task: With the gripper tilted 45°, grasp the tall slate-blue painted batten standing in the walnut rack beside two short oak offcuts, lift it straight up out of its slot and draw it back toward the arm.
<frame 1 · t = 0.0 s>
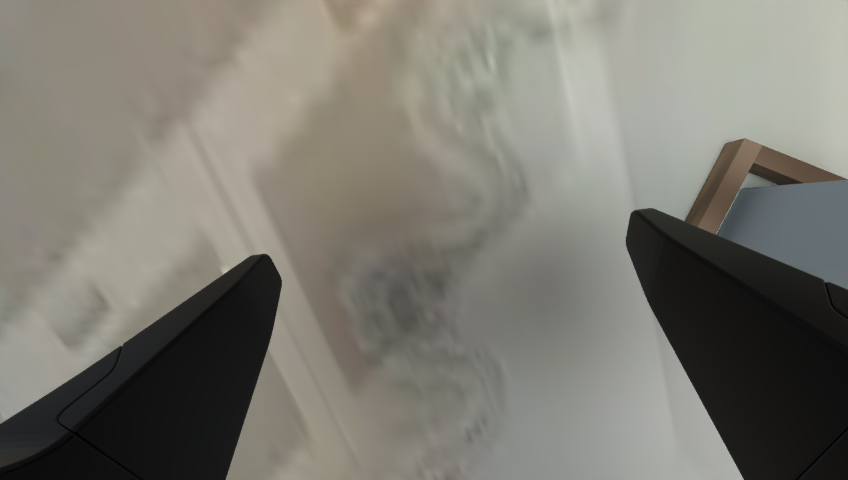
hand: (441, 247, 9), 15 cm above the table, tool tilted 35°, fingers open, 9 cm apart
rack: (754, 231, 22), on the table
batten: (753, 231, 22), resting in rack
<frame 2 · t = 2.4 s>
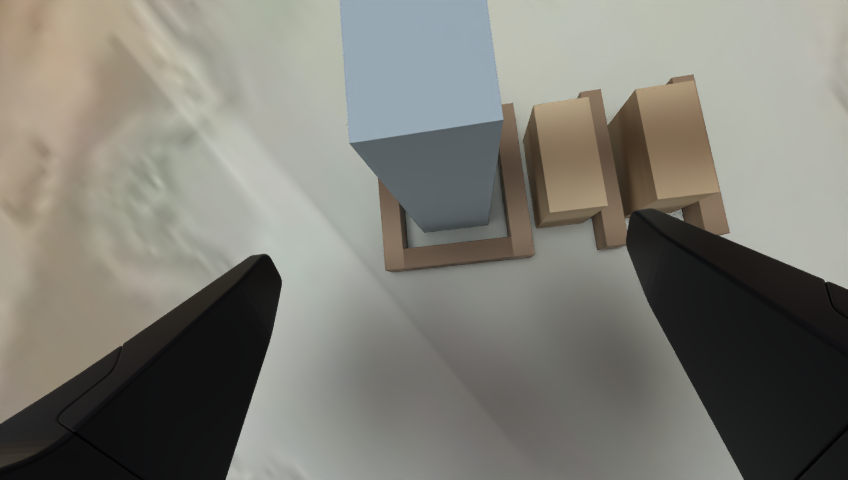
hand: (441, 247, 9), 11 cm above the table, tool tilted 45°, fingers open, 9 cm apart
oak offcut 2: (637, 169, 20), on the table
rack: (451, 193, 21), on the table
batten: (451, 193, 21), resting in rack
oak offcut 1: (551, 180, 20), on the table
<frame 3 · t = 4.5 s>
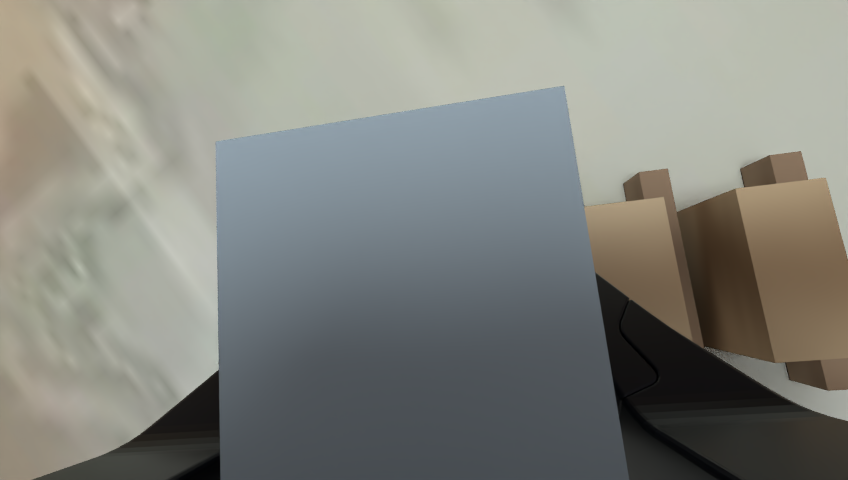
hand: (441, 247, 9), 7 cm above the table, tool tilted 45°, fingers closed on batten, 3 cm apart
oak offcut 2: (713, 274, 15), on the table
rack: (459, 299, 16), on the table
batten: (459, 298, 16), resting in rack, touching gripper
oak offcut 1: (595, 286, 15), on the table
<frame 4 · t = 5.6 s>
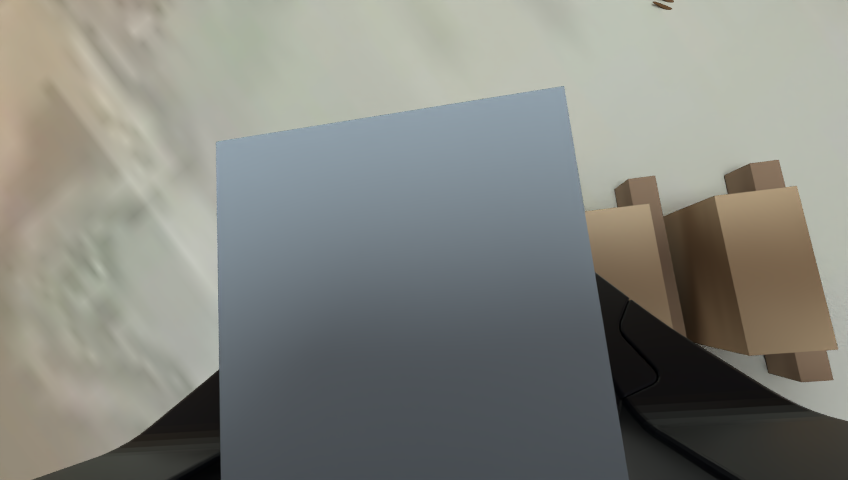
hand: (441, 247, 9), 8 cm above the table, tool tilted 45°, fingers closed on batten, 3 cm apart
oak offcut 2: (698, 274, 16), on the table
rack: (460, 297, 17), on the table
batten: (459, 298, 16), point 1 cm above the table, touching gripper
oak offcut 1: (587, 285, 16), on the table
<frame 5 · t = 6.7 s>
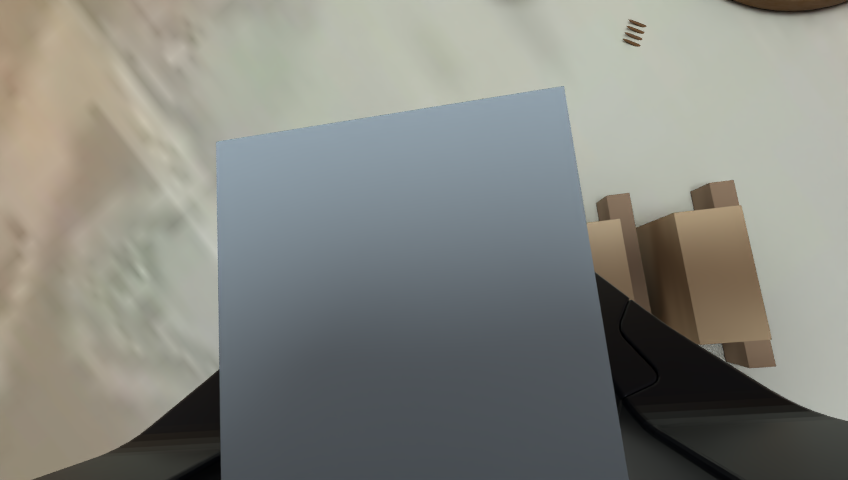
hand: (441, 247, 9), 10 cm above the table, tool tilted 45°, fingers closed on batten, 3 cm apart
oak offcut 2: (667, 277, 18), on the table
rack: (462, 297, 19), on the table
batten: (459, 298, 16), point 4 cm above the table, touching gripper
oak offcut 1: (573, 286, 19), on the table
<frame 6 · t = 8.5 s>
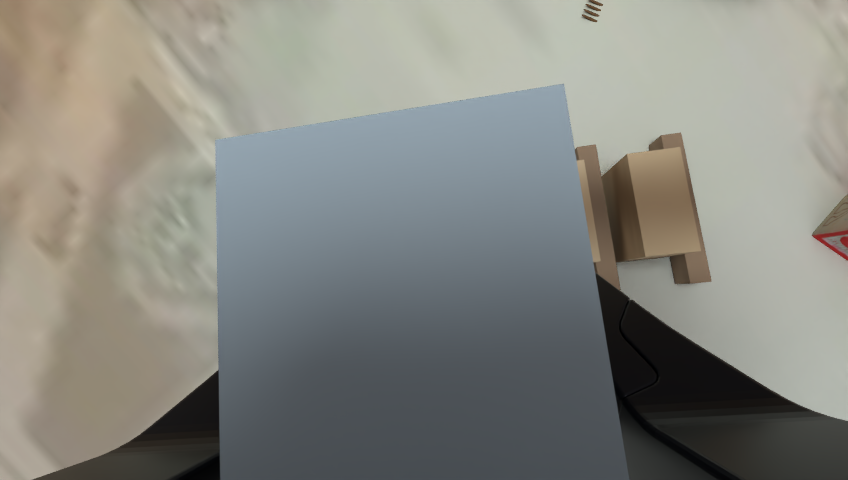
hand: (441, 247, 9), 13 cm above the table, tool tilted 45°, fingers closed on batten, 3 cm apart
oak offcut 2: (629, 217, 22), on the table
rack: (457, 236, 23), on the table
batten: (459, 298, 16), point 7 cm above the table, touching gripper
oak offcut 1: (550, 226, 22), on the table
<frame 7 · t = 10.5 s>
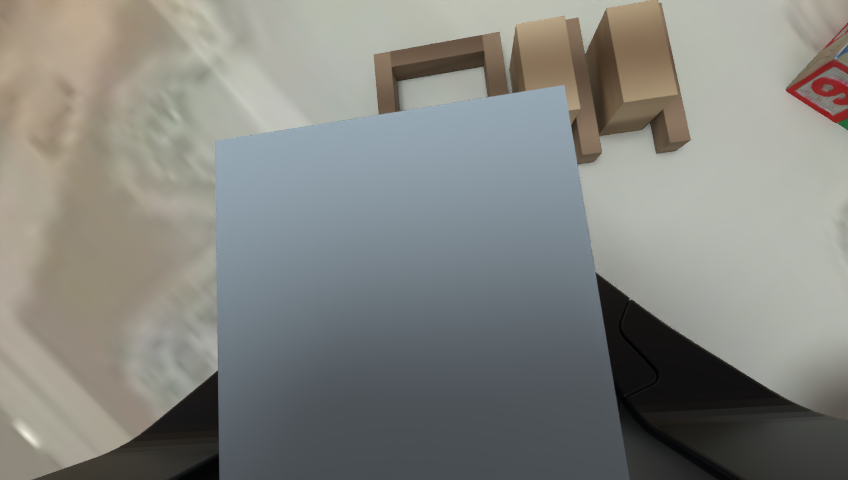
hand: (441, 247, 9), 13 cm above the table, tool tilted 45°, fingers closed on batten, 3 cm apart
oak offcut 2: (611, 93, 22), on the table
rack: (444, 118, 23), on the table
batten: (459, 298, 16), point 6 cm above the table, touching gripper
oak offcut 1: (534, 104, 23), on the table
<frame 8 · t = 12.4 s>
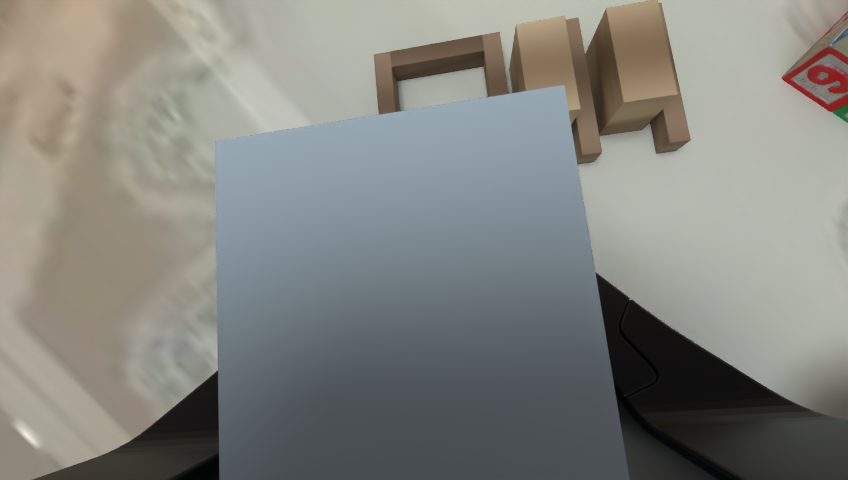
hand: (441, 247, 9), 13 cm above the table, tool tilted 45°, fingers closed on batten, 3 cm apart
oak offcut 2: (611, 93, 22), on the table
rack: (444, 118, 23), on the table
batten: (459, 298, 16), point 6 cm above the table, touching gripper
oak offcut 1: (534, 104, 23), on the table
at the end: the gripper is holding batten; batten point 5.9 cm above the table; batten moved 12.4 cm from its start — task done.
